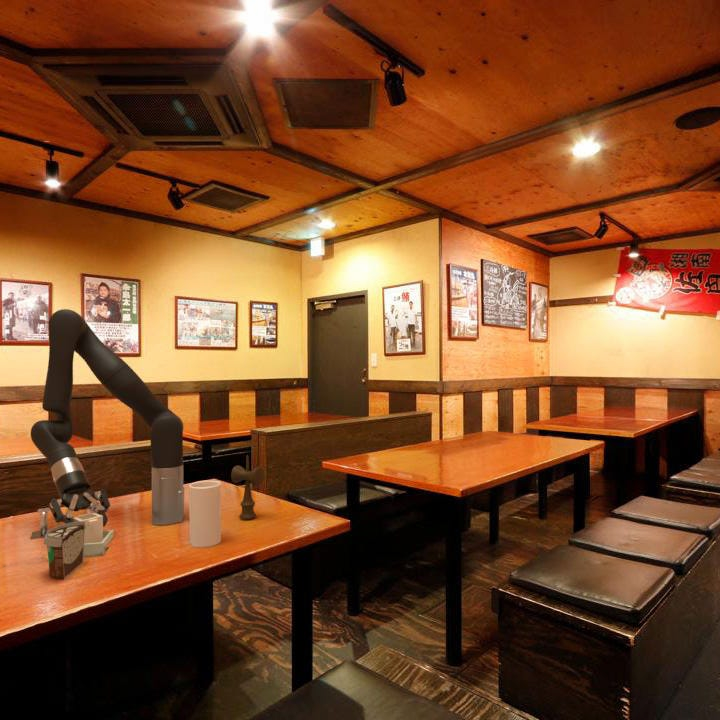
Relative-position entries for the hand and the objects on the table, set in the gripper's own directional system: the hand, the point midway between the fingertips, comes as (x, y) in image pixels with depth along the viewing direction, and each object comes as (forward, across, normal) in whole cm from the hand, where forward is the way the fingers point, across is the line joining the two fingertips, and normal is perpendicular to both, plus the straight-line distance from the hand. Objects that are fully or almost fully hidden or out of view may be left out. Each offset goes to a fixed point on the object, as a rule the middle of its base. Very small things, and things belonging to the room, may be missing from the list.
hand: (90, 528), depth 132 cm
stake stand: (-10, -3, +18) cm, 20 cm away
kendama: (+12, +43, -4) cm, 45 cm away
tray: (+3, 0, +5) cm, 6 cm away
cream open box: (+2, 0, +5) cm, 5 cm away
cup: (+17, +22, -9) cm, 30 cm away
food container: (+10, -10, -1) cm, 14 cm away
